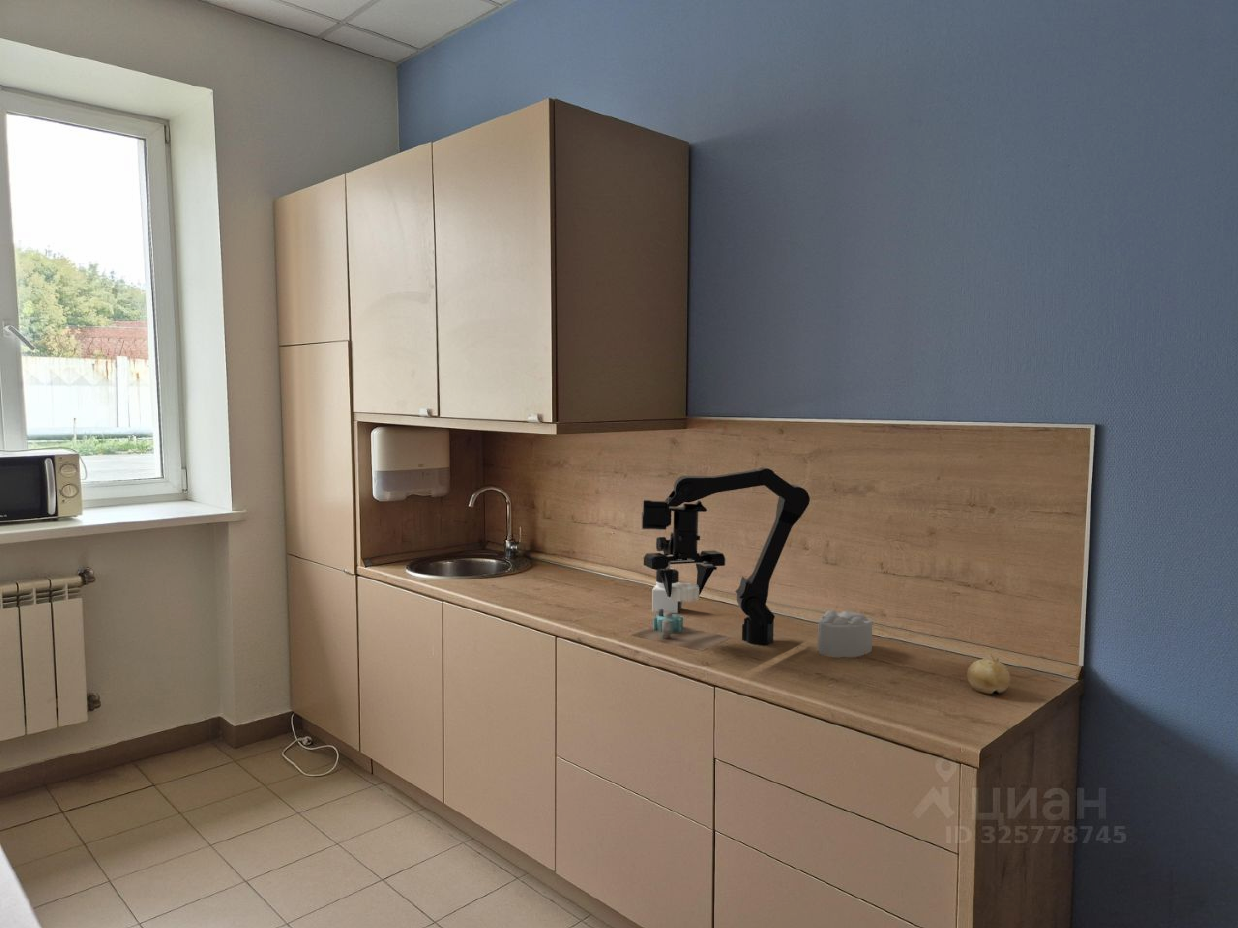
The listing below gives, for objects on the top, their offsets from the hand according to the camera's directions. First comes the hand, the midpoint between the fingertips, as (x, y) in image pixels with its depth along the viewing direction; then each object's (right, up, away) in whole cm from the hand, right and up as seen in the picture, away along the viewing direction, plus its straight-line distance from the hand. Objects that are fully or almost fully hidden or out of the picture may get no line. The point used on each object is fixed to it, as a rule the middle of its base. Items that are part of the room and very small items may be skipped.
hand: (683, 595), depth 200 cm
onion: (+59, -15, -29) cm, 67 cm away
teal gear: (-3, -10, +11) cm, 15 cm away
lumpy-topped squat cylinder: (+37, -13, -2) cm, 39 cm away
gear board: (0, -11, +5) cm, 12 cm away
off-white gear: (0, -1, 0) cm, 0 cm away
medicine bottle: (-2, -10, +31) cm, 33 cm away
